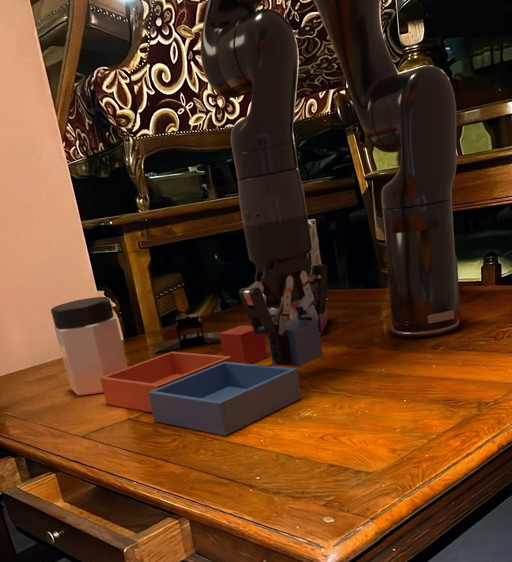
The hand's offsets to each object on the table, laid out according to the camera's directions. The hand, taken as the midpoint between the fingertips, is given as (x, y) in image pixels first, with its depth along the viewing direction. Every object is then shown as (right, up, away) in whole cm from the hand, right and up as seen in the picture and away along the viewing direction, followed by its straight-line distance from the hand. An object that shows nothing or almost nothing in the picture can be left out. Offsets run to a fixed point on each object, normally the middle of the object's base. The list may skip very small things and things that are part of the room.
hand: (297, 357), depth 86 cm
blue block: (0, 0, 0) cm, 0 cm away
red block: (-7, +2, +14) cm, 15 cm away
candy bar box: (+4, +8, +26) cm, 27 cm away
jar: (-27, -2, +14) cm, 31 cm away
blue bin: (-8, -7, -6) cm, 13 cm away
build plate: (-16, +7, +31) cm, 35 cm away
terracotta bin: (-16, -4, +4) cm, 17 cm away
